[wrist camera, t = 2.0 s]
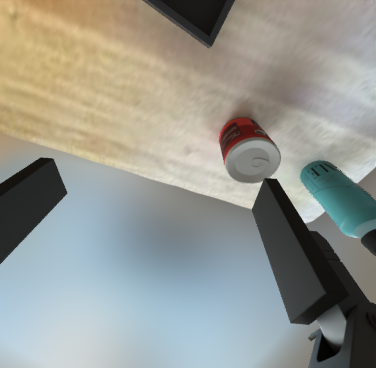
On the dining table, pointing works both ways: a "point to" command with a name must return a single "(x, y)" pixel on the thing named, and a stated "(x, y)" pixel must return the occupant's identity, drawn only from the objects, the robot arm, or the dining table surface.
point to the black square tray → (195, 16)
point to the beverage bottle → (342, 201)
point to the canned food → (248, 151)
